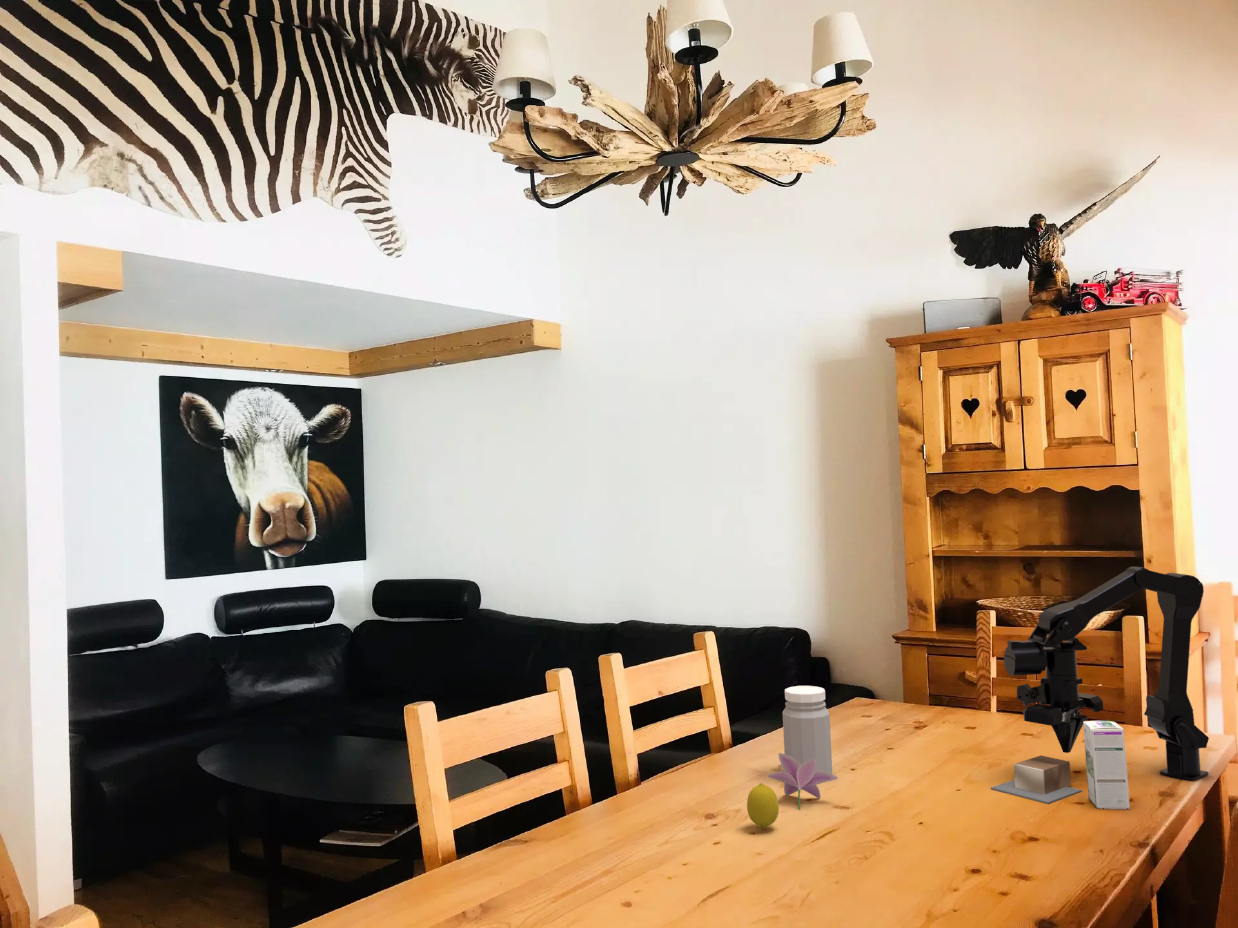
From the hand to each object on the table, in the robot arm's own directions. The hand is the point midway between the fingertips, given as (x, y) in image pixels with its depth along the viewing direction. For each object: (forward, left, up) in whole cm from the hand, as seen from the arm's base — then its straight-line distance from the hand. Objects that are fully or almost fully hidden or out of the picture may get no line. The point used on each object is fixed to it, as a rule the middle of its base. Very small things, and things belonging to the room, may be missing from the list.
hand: (1066, 752), depth 191 cm
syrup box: (+8, +13, -6) cm, 16 cm away
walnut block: (+4, 0, -3) cm, 5 cm away
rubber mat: (+11, 0, -5) cm, 12 cm away
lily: (+49, -24, -6) cm, 55 cm away
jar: (+36, -35, -6) cm, 51 cm away
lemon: (+64, -18, -6) cm, 67 cm away
